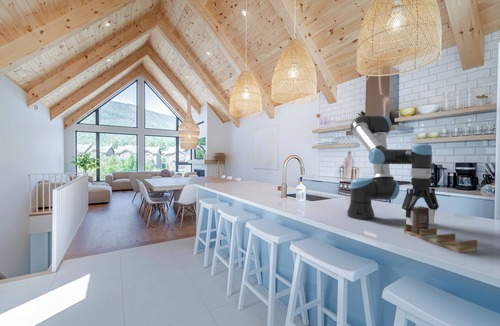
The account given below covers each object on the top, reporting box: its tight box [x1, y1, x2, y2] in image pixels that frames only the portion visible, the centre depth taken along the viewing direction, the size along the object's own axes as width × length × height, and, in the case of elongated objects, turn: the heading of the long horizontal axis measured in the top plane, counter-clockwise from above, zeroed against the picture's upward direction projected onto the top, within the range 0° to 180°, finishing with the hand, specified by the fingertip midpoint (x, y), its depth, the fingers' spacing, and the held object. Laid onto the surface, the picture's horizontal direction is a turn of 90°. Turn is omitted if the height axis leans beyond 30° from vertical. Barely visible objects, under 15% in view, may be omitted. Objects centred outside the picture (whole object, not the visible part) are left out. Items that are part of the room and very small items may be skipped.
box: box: [411, 205, 430, 234], centre depth 109 cm, size 6×4×12 cm
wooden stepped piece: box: [403, 223, 478, 254], centre depth 101 cm, size 24×9×4 cm, turn 13°
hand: (420, 223), depth 109 cm, fingers open, 11 cm apart
